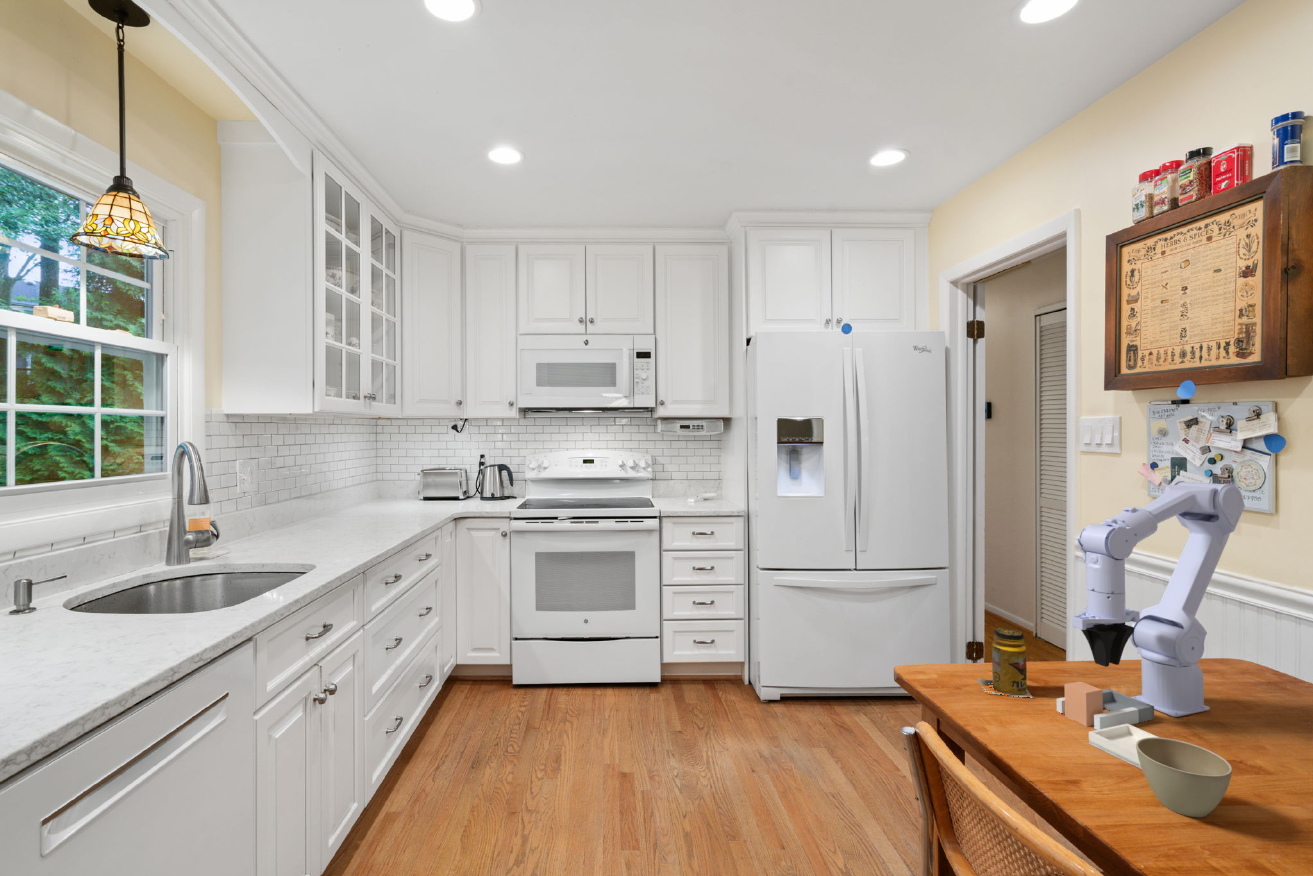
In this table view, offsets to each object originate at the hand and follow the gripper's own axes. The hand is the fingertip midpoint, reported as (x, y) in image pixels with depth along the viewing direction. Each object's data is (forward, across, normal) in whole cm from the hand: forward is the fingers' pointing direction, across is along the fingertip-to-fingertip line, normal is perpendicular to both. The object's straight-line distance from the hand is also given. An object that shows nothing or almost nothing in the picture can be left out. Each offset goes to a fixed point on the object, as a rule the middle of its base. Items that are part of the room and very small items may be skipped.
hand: (1106, 663), depth 110 cm
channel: (+9, +3, 0) cm, 10 cm away
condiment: (+10, +8, -15) cm, 20 cm away
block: (+10, +6, 0) cm, 11 cm away
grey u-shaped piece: (+9, -4, 0) cm, 10 cm away
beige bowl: (+10, +18, +23) cm, 31 cm away
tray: (+9, +9, +11) cm, 17 cm away
